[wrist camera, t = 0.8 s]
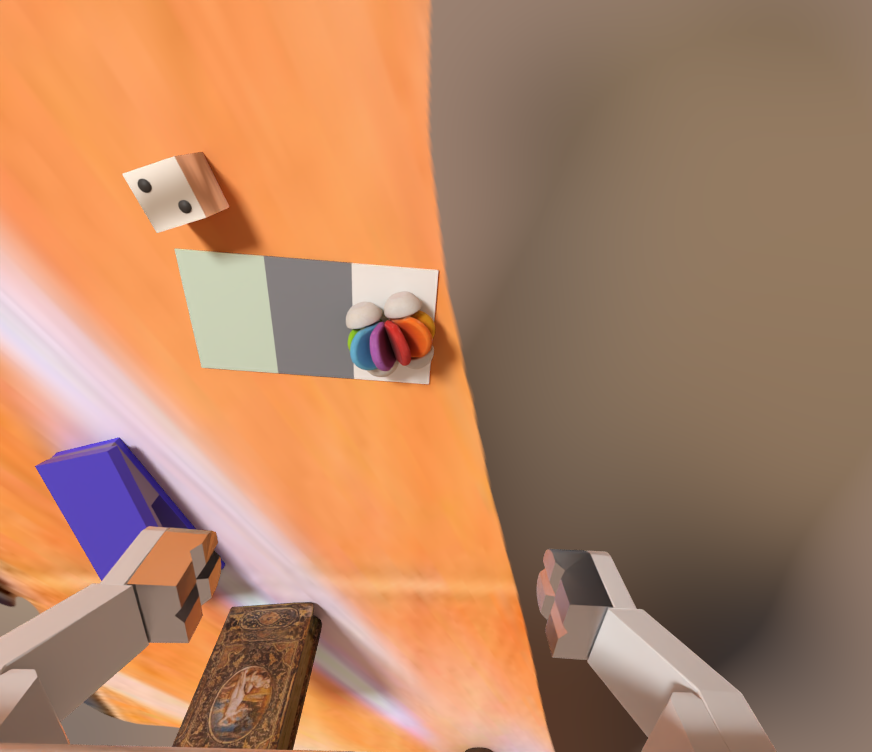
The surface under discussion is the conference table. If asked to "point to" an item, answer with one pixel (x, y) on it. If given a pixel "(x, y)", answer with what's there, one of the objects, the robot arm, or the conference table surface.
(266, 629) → the book
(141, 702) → the conference table surface
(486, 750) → the plant pot
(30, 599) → the conference table surface
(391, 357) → the rainbow segmented toy
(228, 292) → the game mat
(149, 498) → the stapler
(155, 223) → the die
